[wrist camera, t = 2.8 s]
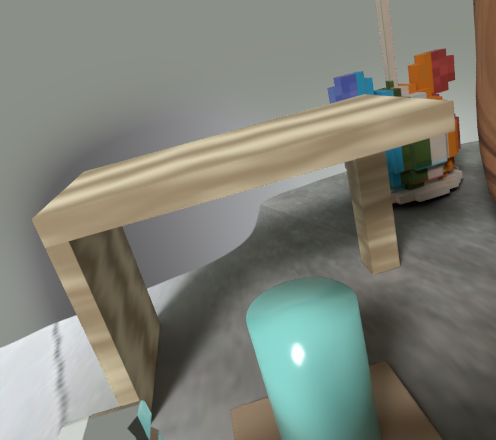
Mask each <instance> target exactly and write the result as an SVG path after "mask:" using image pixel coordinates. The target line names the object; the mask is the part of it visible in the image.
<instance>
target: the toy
mask: <svg viewBox="0 0 496 440" xmlns="http://www.w3.org/2000/svg"><path fill="white" fill-rule="evenodd" d="M376 5H377V14H378V22H379V30H380V39H381V47H382V55H383V63H384V72H385V80H386V88H382V89H379V90H376V91H374V90H373V82H372V78H364V74H363V71H362V72H354V73H350V74H346V75H343V76H339V77H336V78H334V84H335V86H334V87H330V88H328V94H329V100H330V104H331V103H335V102H338V101H342V100H346V99H349V98H353V97H357V96H360V95H364V94H367V95H380V96H394V97H408V98H421V99H435V100H442V97H441V96H439V94H436V93H439V92H442V91H446V90H448V82H449V81H452V80H455V71H454V56H453V55H449V56H446V49H439V50H433V51H430V52H426V53H422V54H419V55H415V56H414V59H415V64H413V65H409V66H408V72H409V83H410V84H398V83H397V74H396V65H395V56H394V47H393V38H392V29H391V20H390V11H389V2H388V0H376ZM454 119H455V131H453V132H449V133H446V134H442V135H439V136H435V137H432V138H428V139H425V140H421V141H418V142H414V143H411V144H407V145H404V146H400V147H397V148H393V149H390V150H386V151H385V152H386V160H387V168H388V176H389V184H390V191H391V199H392V204H393V203H398V204H400V205H401V204H404V203H408V202H412V201H415V200H416V201H418V202H422V201H425V200H428V199H431V198H435V197H438V196H441V195H444V194H447V193H450V190H449V189H452V188H455V187H458V186H459V183H460V182H461V179H462V171H460V170H459V166H457V165H454V156H456V155H457V152H459V149H460V148H461V146H460V131H459V117H455V114H454ZM345 168H346V163H345ZM349 193H350V188H349ZM350 196H351V193H350Z"/></svg>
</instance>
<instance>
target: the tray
mask: <svg viewBox="0 0 496 440" xmlns="http://www.w3.org/2000/svg"><path fill="white" fill-rule="evenodd" d="M369 368H370V374H371V379H372V385H373V391H374V396H375V402H376V408H377V413H378V419H379V425H380V430H381V436H382V440H443V439H442V438H441V437H440V435H439V434H438V433H437V431H436V430H435V428H434V427H433V426H432V424H431V423H430V421H429V420H428V419H427V417H426V416H425V415H424V413H423V412H422V410H421V409H420V408H419V406H418V405H417V403H416V402H415V401H414V399H413V398H412V397H411V395H410V394H409V392H408V391H407V390H406V388H405V387H404V385H403V384H402V383H401V381H400V380H399V379H398V377H397V376H396V374H395V373H394V372H393V370H392V369H391V367H390V366H389V365H388V363H387V362H386V361H382V362H378V363H375V364H372V365H369ZM230 410H231V417H232V424H233V431H234V438H235V440H281V437H280V434H279V431H278V427H277V424H276V421H275V417H274V414H273V411H272V407H271V404H270V401H269V397H268V398H265V399H262V400H258V401H255V402H252V403H249V404H246V405H243V406H240V407H236V408H233V409H230Z"/></svg>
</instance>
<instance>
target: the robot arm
mask: <svg viewBox="0 0 496 440" xmlns="http://www.w3.org/2000/svg"><path fill="white" fill-rule="evenodd" d="M58 440H163V439H162V437H161V435H160V432H159V430H157V429H155V428H153V427H151V412H150V410H149V408H148V406H147V404H146V402H145V401H142V400H140V401H137V402H133V403H130V404H126V405H123V406H120V407H116V408H113V409H110V410H106V411H103V412H99V413H96V414H93V415H92V416H87V417H84V418H81V419H77V420H74V421H71V422H67V423H66V424H65V425H64V427H63V428H62V429H61V432H60V435H59V438H58Z"/></svg>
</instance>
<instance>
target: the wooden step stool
mask: <svg viewBox="0 0 496 440" xmlns="http://www.w3.org/2000/svg"><path fill="white" fill-rule="evenodd" d="M453 131H455V119H454V103H453V101H448V100H435V99H421V98H408V97H394V96H380V95H367V94H364V95H360V96H357V97H353V98H349V99H346V100H342V101H338V102H335V103H331V104H328V105H324V106H320V107H317V108H313V109H310V110H306V111H302V112H299V113H295V114H291V115H288V116H284V117H281V118H277V119H273V120H270V121H266V122H262V123H259V124H255V125H252V126H248V127H244V128H241V129H238V130H234V131H230V132H226V133H223V134H219V135H215V136H212V137H209V138H205V139H201V140H198V141H194V142H190V143H186V144H183V145H180V146H176V147H172V148H168V149H165V150H161V151H157V152H154V153H150V154H147V155H143V156H140V157H136V158H132V159H129V160H125V161H121V162H118V163H114V164H110V165H107V166H103V167H100V168H96V169H92V170H89V171H85V172H83V173H82V174H81V175H80V176H79V177H78V178H77V179H75V180H74V181H73V182H72V183H71V184H70V185H69V186H68V187H67V188H66V189H65V190H63V191H62V192H61V193H60V194H59V195H58V196H57V197H56V198H55V199H54V200H52V201H51V202H50V203H49V204H48V205H47V206H46V207H45V208H44V209H43V210H42V211H40V212H39V213H38V214H37V215H36V216H35V217H34V218H33V219H32V221H33V223H34V225H35V227H36V230H37V232H38V234H39V236H40V238H41V240H42V242H43V244H44V246H45V249H46V251H47V253H48V255H49V257H50V259H51V261H52V263H53V266H54V268H55V270H56V272H57V274H58V276H59V278H60V280H61V282H62V284H63V286H64V289H65V291H66V293H67V295H68V297H69V299H70V301H71V303H72V306H73V308H74V310H75V312H76V314H77V316H78V318H79V321H80V323H81V325H82V327H83V329H84V331H85V333H86V335H87V338H88V340H89V342H90V344H91V346H92V348H93V350H94V352H95V354H96V357H97V359H98V361H99V363H100V365H101V367H102V369H103V371H104V374H105V376H106V378H107V380H108V382H109V384H110V386H111V388H112V390H113V393H114V395H115V397H116V399H117V401H118V403H119V405H120V406H123V405H126V404H130V403H133V402H137V401H140V400H142V401H145V402H146V404H147V406H148V408H149V410H150V412H152V402H153V392H154V381H155V371H156V361H157V350H158V340H159V330H160V322H159V319H158V317H157V314H156V312H155V309H154V307H153V304H152V301H151V299H150V296H149V294H148V291H147V289H146V286H145V283H144V281H143V278H142V276H141V273H140V271H139V268H138V266H137V263H136V260H135V258H134V255H133V253H132V250H131V247H130V245H129V243H128V240H127V237H126V235H125V232H124V230H123V227H122V226H124V225H127V224H130V223H134V222H137V221H141V220H145V219H148V218H152V217H155V216H159V215H162V214H166V213H169V212H172V211H176V210H180V209H183V208H186V207H190V206H194V205H197V204H201V203H204V202H207V201H211V200H215V199H218V198H222V197H225V196H229V195H232V194H236V193H239V192H242V191H246V190H250V189H253V188H257V187H260V186H264V185H267V184H271V183H274V182H278V181H281V180H284V179H288V178H292V177H295V176H299V175H302V174H306V173H309V172H312V171H316V170H320V169H323V168H327V167H330V166H333V165H337V164H341V163H344V162H345V163H346V169H347V175H348V181H349V187H350V193H351V199H352V205H353V211H354V217H355V223H356V229H357V236H358V242H359V248H360V254H361V260H362V263H363V264H364V265H365V266H366V267H367V268H368V269H369V270H370V271H371V272H372V273H373V274H377V273H380V272H383V271H387V270H390V269H393V268H397V267H400V262H399V254H398V246H397V238H396V230H395V223H394V215H393V207H392V199H391V191H390V184H389V176H388V168H387V160H386V152H385V151H386V150H390V149H393V148H397V147H400V146H404V145H407V144H411V143H414V142H418V141H421V140H425V139H428V138H432V137H435V136H439V135H442V134H446V133H449V132H453Z"/></svg>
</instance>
